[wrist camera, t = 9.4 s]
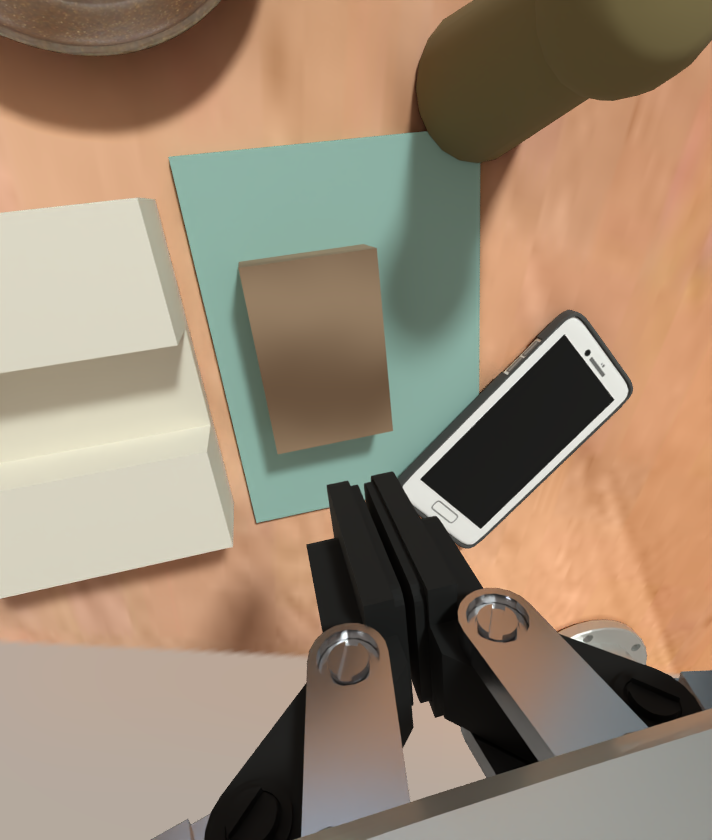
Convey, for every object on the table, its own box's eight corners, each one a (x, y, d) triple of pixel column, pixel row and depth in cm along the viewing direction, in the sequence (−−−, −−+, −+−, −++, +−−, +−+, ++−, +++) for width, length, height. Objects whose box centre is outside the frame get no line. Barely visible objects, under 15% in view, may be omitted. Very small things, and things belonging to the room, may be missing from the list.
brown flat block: (277, 454, 24) (274, 433, 26) (393, 431, 25) (380, 412, 27) (238, 268, 20) (238, 261, 22) (376, 248, 21) (363, 243, 23)
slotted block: (234, 502, 28) (233, 546, 24) (9, 549, 26) (-28, 604, 22) (155, 198, 21) (137, 197, 17) (-159, 234, 19) (-252, 240, 15)
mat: (476, 472, 30) (478, 474, 30) (256, 520, 28) (256, 523, 28) (477, 126, 22) (480, 126, 22) (169, 157, 20) (168, 156, 20)
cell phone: (385, 486, 29) (390, 495, 28) (567, 301, 27) (578, 304, 26) (461, 544, 32) (468, 554, 31) (627, 385, 30) (639, 390, 29)
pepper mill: (414, 2, 20) (594, -247, 10) (545, 6, 21) (826, -213, 11) (416, 165, 22) (564, 99, 12) (535, 161, 23) (761, 96, 13)
